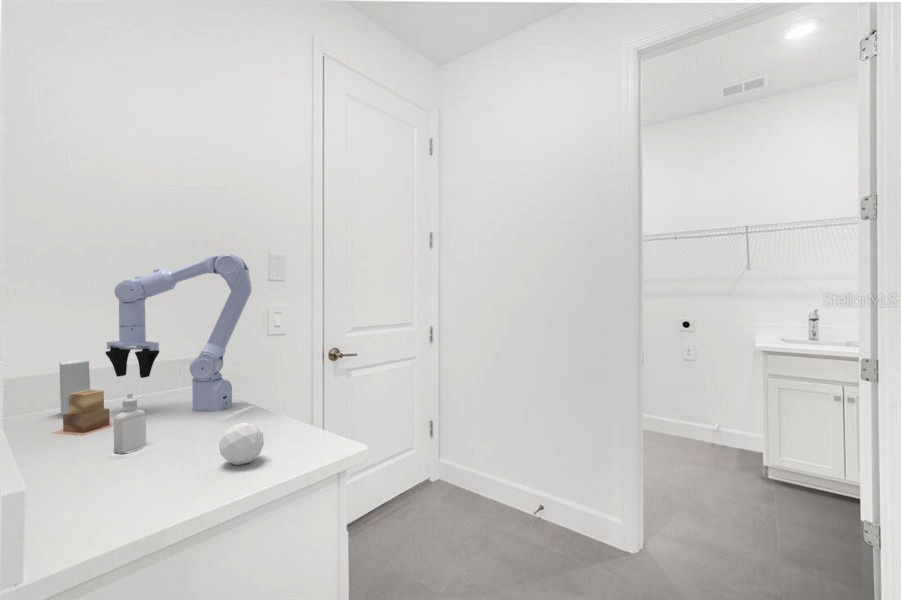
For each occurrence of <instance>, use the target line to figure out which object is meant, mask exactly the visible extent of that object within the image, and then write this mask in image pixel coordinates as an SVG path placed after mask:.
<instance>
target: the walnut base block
mask: <svg viewBox="0 0 901 600" xmlns="http://www.w3.org/2000/svg"><path fill="white" fill-rule="evenodd" d="M110 423H111V421H110V408H105V407H104V409H103V410H100V411H96V412H92V413H88V414H71V413H65V414H63V416H62V430H63V431H66V432H78V433H86V432H89V431H92V430H96V429H99V428H102V427H105V426H109V425H110Z"/></svg>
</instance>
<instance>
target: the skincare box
mask: <svg viewBox="0 0 901 600" xmlns="http://www.w3.org/2000/svg"><path fill="white" fill-rule="evenodd" d="M58 364H59V397H60V399H59V400H60V413H61V416H62V417H63V414H65V413H69V394H71V393H76V392H80V391H85V390H91V383H90V382H91V381H90V379H91V377H90V376H91V375H90V361H89V360H88V359H86V358H82V359H81V358H80V359H74V360H73V359H72V360H64V361H59V363H58Z"/></svg>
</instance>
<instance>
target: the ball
mask: <svg viewBox="0 0 901 600" xmlns="http://www.w3.org/2000/svg"><path fill="white" fill-rule="evenodd" d="M264 444H265V442H264V433H263V432H262V431H261V429H259V427H258V426H257V425H256V424H253V423H249V422H246V421H245V422H241V423H237V424H234V425H231V427H229V428H228V429H227V430H225V431H223V434H222V436H221V438H220V440H219V442H218V445H219V453H220V455H221V456H222V458H223V459H224V460H225V461H227V463H230V464H233V465H236V466H240V465H241V466H242V465H245V464H248V463H250V462H252V461H253V460H255V459H256V458H257V457H258V456H260V455H261V452H262V449H263V447H264Z"/></svg>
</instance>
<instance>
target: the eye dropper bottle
mask: <svg viewBox="0 0 901 600" xmlns="http://www.w3.org/2000/svg"><path fill="white" fill-rule="evenodd" d="M146 419H147V415H146V412H145V411H144V410H143V409H138V398H135V397H134V396H133V393H132V392H128V393H127V396H126V398H125V399H123V400H122V411H120V413H118V414H117V415H116V416H114V418H113V423H114V426H113V453H114V454H115V455H124V456H125V455H127V454H129V452H126V451H130V450H134V449H135V450H134V451H131V452H130V453H134V452H139V450H142V449H143V447H142V446H144V445H146V444H147V420H146ZM140 447H141V448H140ZM137 448H139V449H137Z"/></svg>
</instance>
